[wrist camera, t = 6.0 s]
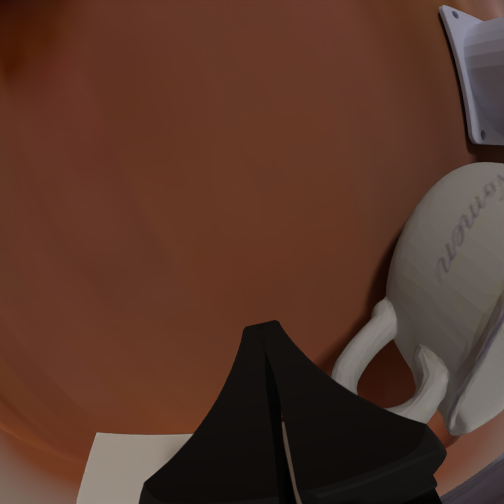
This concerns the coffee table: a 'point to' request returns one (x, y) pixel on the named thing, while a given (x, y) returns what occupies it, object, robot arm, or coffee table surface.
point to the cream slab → (134, 465)
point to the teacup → (445, 303)
